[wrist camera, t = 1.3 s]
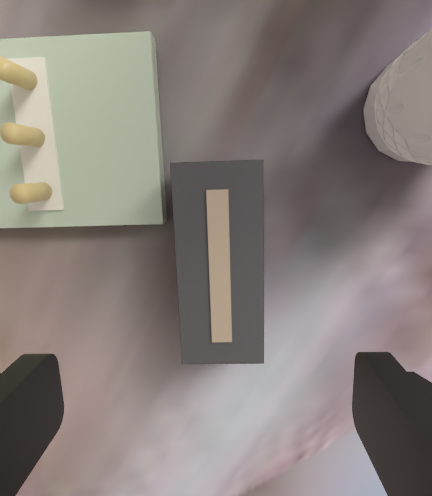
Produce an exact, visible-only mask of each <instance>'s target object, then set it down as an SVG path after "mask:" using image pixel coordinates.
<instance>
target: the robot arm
mask: <svg viewBox="0 0 432 496" xmlns="http://www.w3.org/2000/svg"><path fill="white" fill-rule="evenodd" d="M352 412H353V419H354V424H355V427H356V430H357V433H358V435H359V437H360V439H361V441H362V443H363V445H364V447H365V449H366V451H367V453H368V455H369V457H370V460H371V462H372V464H373V466H374V468H375V470H376V472H377V474H378V476H379V478H380V480H381V482H382V485H383V486H384V488H385V491H386V493H387V495H388V496H432V383H431V382H429V381H428V380H426V379H425V378H423V377H421V376H420V375H418V374H416V373H415V372H406V371H405V369H404V368H403V367H402V366H401V365H400V364H399V362H398V361H397V360H396V359H395V358H394V357H393V356H392V354H391V353H389V352H358V353H357V355H356V357H355V367H354V383H353V400H352ZM63 414H64V401H63V394H62V387H61V380H60V373H59V366H58V360H57V358H56V356H55V355H54V354H24V355H22V356H20V357H19V358H18V359H17V360H16V361H15V362H14V363H12V364H11V365H10V366H9V367H8V368H7V369H6V370H5V371H3V372H2V373H0V496H15V495H16V494H17V492H18V491H19V489H20V488H21V486H22V485H23V483H24V482H25V480H26V479H27V477H28V476H29V474H30V472H31V471H32V469H33V468H34V466H35V465H36V463H37V462H38V460H39V459H40V457H41V456H42V454H43V453H44V451H45V450H46V448H47V447H48V445H49V444H50V442H51V441H52V439H53V438H54V436H55V435H56V433H57V431H58V430H59V428H60V425H61V423H62V419H63Z"/></svg>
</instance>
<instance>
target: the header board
mask: <svg viewBox="0 0 432 496" xmlns="http://www.w3.org/2000/svg"><path fill="white" fill-rule="evenodd" d="M166 221H167V215H166V199H165V183H164V167H163V151H162V135H161V120H160V104H159V88H158V72H157V56H156V40H155V38H154V36H153V35H152V33H151V31H143V32H124V33H105V34H86V35H67V36H47V37H28V38H9V39H0V228H32V227H71V226H110V225H149V224H164V223H165V222H166Z"/></svg>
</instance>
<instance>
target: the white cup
mask: <svg viewBox="0 0 432 496" xmlns="http://www.w3.org/2000/svg"><path fill="white" fill-rule="evenodd" d="M363 112H364V120H365V128H366V133H367V135H368V136H369V138H370V139H371V141H372V142H373V143H374V145H375V146H376V148H377V149H378V151H380V152H382V153H384V154H386V155H388V156H389V157H391V158H393V159H395V160H397V161H409V162H417V163H420V164H425V165H432V28H431V29H429V30H428V31H427V32H426V33H424V34H423V35H422V36H421V37H420V38H419V39H417V40H416V41H415V42H414V43H413V44H412V45H410V46H409V47H408V48H407V49H406V50H405V51H404V52H403V53H401V54H400V55H399V56H398V57H397V58H396V59H395V60H394V61H393V62H391V63H390V64H389V65H388V66H387V67H386V68H385V69H384V70H383V71H382V73H381V74H380V75H379V76H378V77H377V79H376V80H375V81H374V82H373V83H372V85H371V86H370V89H369V92H368V96H367V99H366V102H365V105H364V109H363Z"/></svg>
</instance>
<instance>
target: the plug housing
mask: <svg viewBox="0 0 432 496" xmlns="http://www.w3.org/2000/svg"><path fill="white" fill-rule="evenodd" d="M170 169H171V186H172V203H173V220H174V237H175V254H176V271H177V288H178V305H179V322H180V339H181V356H182V364H259V363H264V222H263V160H241V161H211V162H182V163H170Z"/></svg>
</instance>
